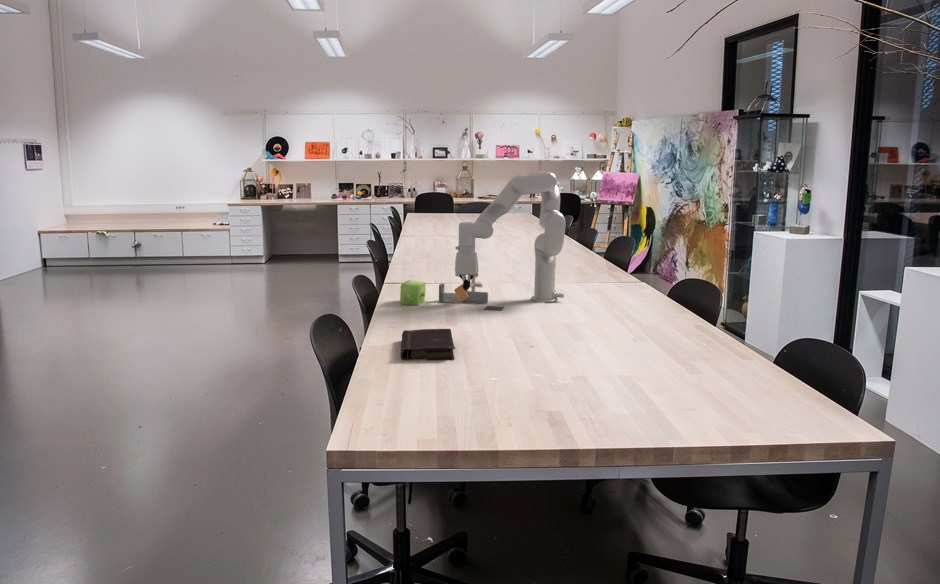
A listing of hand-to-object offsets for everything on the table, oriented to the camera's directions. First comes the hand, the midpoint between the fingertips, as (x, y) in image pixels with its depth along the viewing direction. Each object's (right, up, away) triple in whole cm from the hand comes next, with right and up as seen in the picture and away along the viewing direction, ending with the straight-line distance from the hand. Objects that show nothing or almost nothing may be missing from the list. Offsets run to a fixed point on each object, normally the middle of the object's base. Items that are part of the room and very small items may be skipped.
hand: (466, 289), depth 324 cm
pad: (+12, -9, -11) cm, 19 cm away
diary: (-13, -22, -77) cm, 81 cm away
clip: (0, -4, +1) cm, 4 cm away
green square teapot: (-24, -7, -1) cm, 25 cm away
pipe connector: (+3, -3, +20) cm, 20 cm away
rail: (-1, -6, +2) cm, 7 cm away
